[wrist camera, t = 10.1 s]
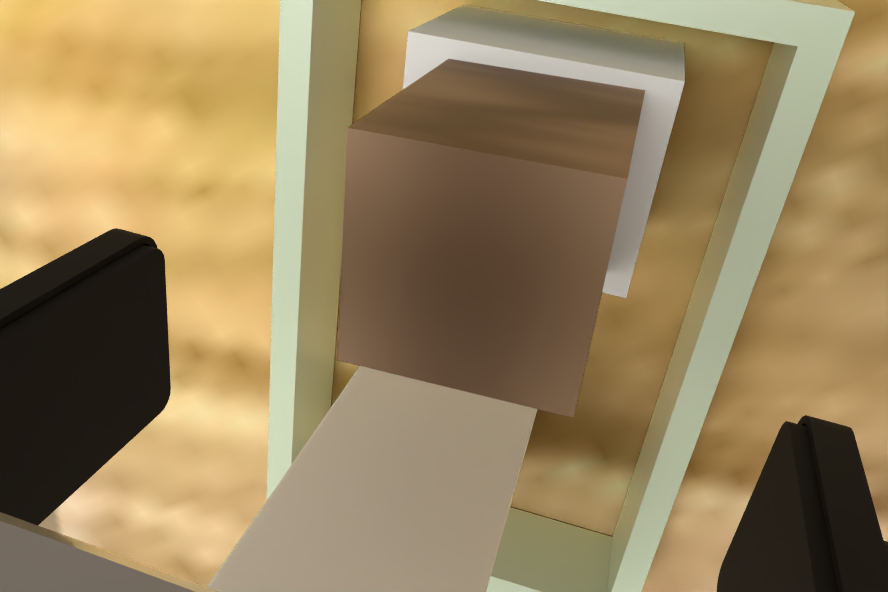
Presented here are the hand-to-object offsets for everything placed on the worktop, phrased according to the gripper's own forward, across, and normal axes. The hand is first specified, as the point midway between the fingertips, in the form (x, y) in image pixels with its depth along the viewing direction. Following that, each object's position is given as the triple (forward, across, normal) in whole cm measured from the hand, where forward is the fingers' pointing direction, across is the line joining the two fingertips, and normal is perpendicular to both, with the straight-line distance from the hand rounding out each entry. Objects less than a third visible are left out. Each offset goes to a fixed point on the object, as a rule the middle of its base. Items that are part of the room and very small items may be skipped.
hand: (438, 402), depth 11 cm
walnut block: (+11, +1, 0) cm, 11 cm away
